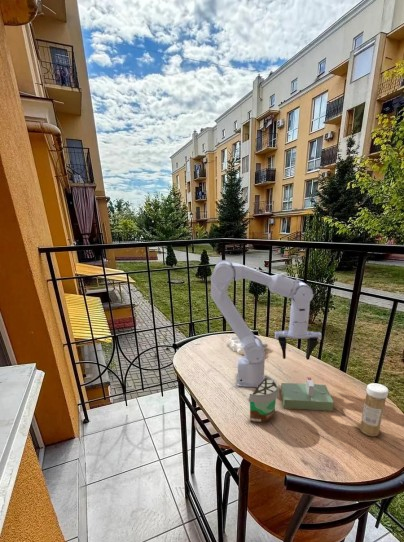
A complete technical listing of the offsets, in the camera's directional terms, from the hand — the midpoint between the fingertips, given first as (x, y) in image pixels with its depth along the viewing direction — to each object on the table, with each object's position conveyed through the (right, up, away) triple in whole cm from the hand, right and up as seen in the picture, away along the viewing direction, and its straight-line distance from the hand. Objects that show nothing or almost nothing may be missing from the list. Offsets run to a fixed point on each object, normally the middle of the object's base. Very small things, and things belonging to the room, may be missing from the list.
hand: (295, 358), depth 96 cm
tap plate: (+1, -13, -7) cm, 15 cm away
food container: (-13, -16, -14) cm, 25 cm away
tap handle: (+1, -10, -8) cm, 13 cm away
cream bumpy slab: (-12, +1, +32) cm, 34 cm away
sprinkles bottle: (+12, -18, -21) cm, 30 cm away
